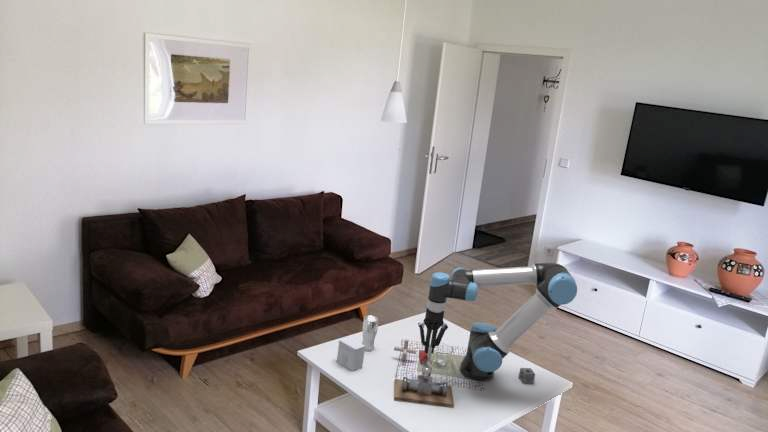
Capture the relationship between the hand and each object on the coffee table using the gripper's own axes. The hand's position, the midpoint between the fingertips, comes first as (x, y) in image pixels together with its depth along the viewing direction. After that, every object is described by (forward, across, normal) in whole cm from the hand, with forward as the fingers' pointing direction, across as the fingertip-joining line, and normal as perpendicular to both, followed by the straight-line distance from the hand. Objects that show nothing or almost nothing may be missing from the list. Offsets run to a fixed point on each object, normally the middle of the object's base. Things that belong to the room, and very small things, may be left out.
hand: (427, 359), depth 262 cm
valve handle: (+1, +3, +5) cm, 5 cm away
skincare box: (+10, +31, -12) cm, 35 cm away
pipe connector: (+10, +5, -17) cm, 21 cm away
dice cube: (+10, -47, -1) cm, 49 cm away
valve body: (+10, +3, +11) cm, 15 cm away
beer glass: (+10, +21, -28) cm, 36 cm away
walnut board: (+10, +3, +11) cm, 15 cm away
